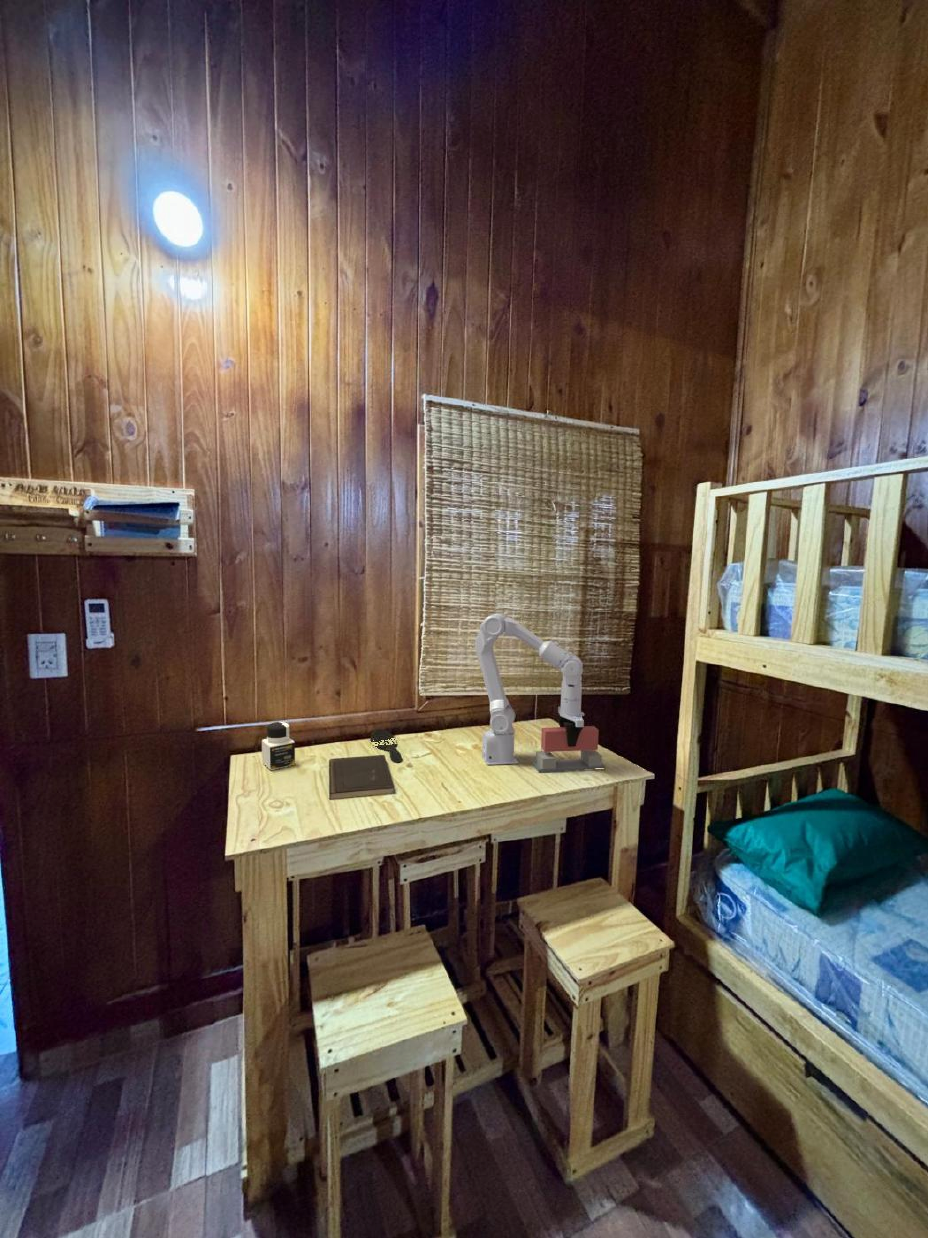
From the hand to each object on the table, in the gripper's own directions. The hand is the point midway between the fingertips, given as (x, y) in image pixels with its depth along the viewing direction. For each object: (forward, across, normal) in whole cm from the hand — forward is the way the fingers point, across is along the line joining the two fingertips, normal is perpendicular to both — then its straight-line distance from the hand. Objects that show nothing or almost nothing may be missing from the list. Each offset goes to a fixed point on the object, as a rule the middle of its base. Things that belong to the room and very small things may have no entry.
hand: (569, 744), depth 149 cm
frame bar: (+2, 0, 0) cm, 2 cm away
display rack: (+7, 0, 0) cm, 7 cm away
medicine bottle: (+7, +13, +83) cm, 84 cm away
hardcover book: (+8, 0, +60) cm, 60 cm away
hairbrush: (+8, +22, +51) cm, 56 cm away
